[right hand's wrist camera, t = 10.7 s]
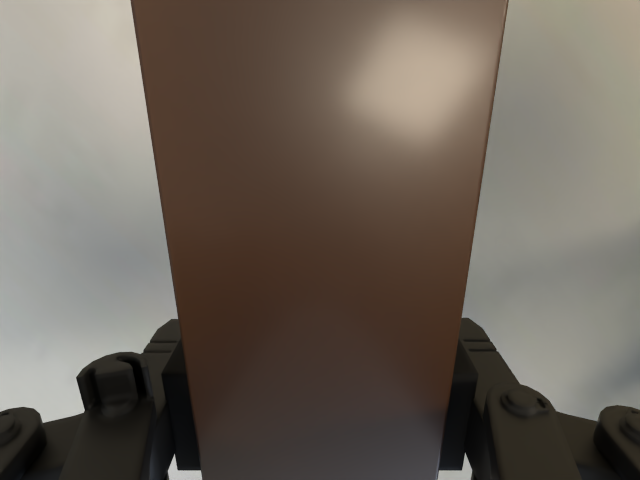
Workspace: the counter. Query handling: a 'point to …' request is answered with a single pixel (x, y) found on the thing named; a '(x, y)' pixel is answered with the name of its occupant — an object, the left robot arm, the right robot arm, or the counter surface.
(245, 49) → the walnut beam
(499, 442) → the right robot arm
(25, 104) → the counter surface
